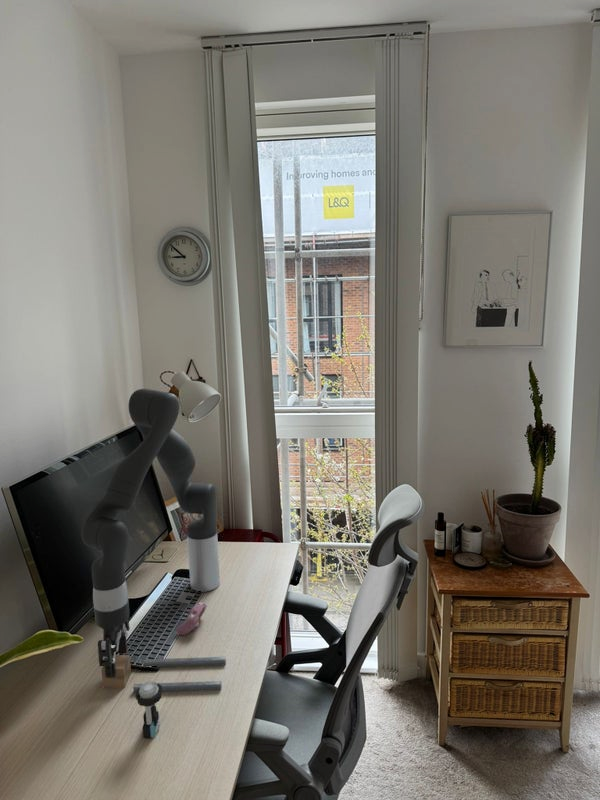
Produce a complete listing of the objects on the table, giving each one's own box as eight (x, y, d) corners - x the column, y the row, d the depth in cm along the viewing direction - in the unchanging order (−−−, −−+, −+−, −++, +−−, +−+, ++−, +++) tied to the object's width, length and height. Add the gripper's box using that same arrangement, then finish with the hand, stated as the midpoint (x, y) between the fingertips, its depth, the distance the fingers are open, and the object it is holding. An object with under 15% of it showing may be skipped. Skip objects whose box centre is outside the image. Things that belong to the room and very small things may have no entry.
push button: (144, 715, 115) (140, 674, 113) (169, 714, 115) (165, 673, 114) (135, 740, 109) (131, 697, 107) (162, 739, 109) (158, 696, 107)
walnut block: (110, 674, 129) (108, 655, 128) (131, 673, 129) (129, 654, 128) (103, 688, 124) (101, 669, 123) (125, 687, 124) (123, 668, 123)
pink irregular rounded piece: (189, 642, 142) (199, 622, 140) (174, 634, 143) (184, 613, 141) (202, 620, 152) (212, 601, 150) (188, 613, 152) (197, 593, 150)
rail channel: (145, 664, 131) (144, 659, 131) (226, 662, 132) (225, 656, 131) (133, 692, 122) (133, 687, 122) (221, 689, 122) (220, 684, 122)
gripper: (117, 618, 116) (123, 684, 119) (136, 584, 130) (141, 644, 133) (82, 619, 116) (89, 686, 118) (105, 585, 130) (110, 646, 133)
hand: (116, 664), depth 126 cm, fingers open, 8 cm apart
